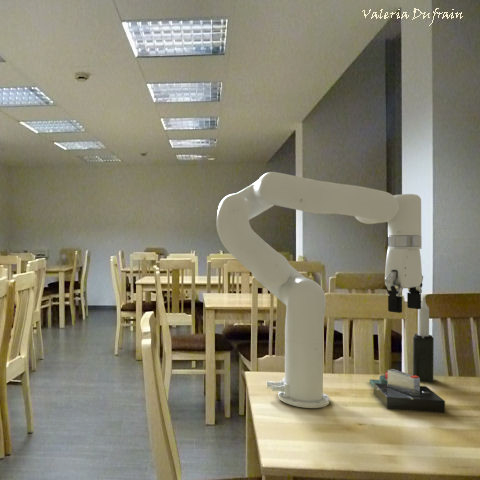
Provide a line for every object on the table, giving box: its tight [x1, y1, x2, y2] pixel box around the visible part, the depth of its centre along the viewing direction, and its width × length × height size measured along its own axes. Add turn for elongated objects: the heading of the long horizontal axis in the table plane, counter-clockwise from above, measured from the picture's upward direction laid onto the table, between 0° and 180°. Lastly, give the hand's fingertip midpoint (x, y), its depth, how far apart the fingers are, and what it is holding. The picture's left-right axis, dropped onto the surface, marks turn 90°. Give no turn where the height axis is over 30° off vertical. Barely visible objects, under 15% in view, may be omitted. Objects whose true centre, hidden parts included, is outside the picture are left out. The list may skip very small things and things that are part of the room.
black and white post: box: [412, 296, 435, 384], centre depth 133 cm, size 5×5×25 cm
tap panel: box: [373, 383, 446, 414], centre depth 113 cm, size 14×12×3 cm
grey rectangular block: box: [387, 368, 421, 396], centre depth 113 cm, size 8×2×5 cm, turn 20°
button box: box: [369, 374, 388, 388], centre depth 124 cm, size 10×8×3 cm
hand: (404, 310), depth 112 cm, fingers open, 9 cm apart
